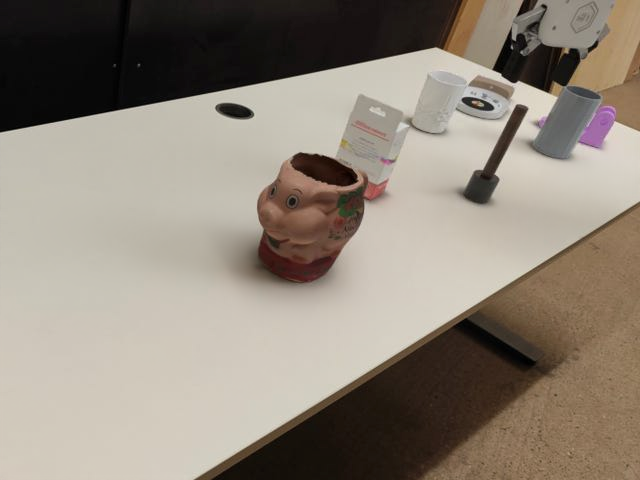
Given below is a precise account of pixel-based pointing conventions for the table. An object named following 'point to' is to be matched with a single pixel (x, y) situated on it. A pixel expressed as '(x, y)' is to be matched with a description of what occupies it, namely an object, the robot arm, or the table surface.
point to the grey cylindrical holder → (567, 121)
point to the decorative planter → (309, 215)
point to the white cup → (438, 100)
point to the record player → (486, 98)
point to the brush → (494, 160)
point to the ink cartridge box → (373, 142)
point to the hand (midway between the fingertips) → (533, 81)
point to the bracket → (596, 126)
